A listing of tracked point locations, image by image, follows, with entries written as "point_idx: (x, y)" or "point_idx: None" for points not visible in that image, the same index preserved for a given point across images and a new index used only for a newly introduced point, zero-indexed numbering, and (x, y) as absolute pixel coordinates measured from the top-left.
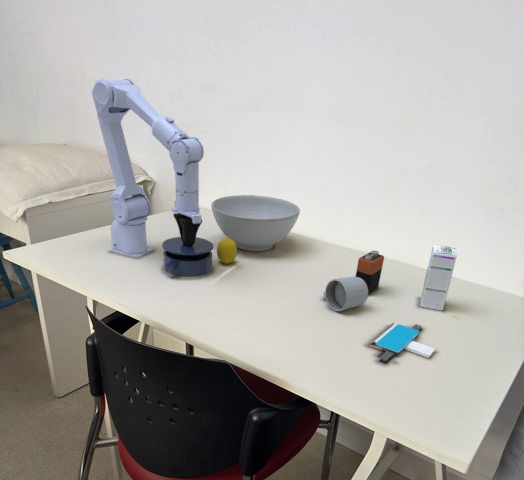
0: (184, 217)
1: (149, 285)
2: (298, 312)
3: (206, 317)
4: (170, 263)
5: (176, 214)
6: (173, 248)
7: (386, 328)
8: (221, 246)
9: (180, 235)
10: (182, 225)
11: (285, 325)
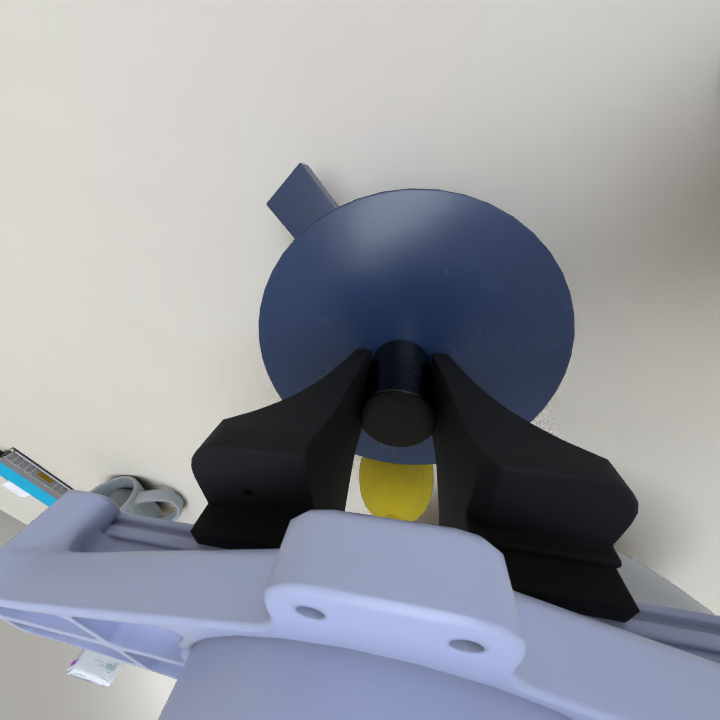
0: (459, 520)
1: (271, 47)
2: (107, 429)
3: (16, 221)
4: (312, 205)
5: (564, 507)
6: (357, 258)
7: (44, 490)
8: (379, 474)
9: (454, 365)
10: (288, 413)
11: (41, 382)
